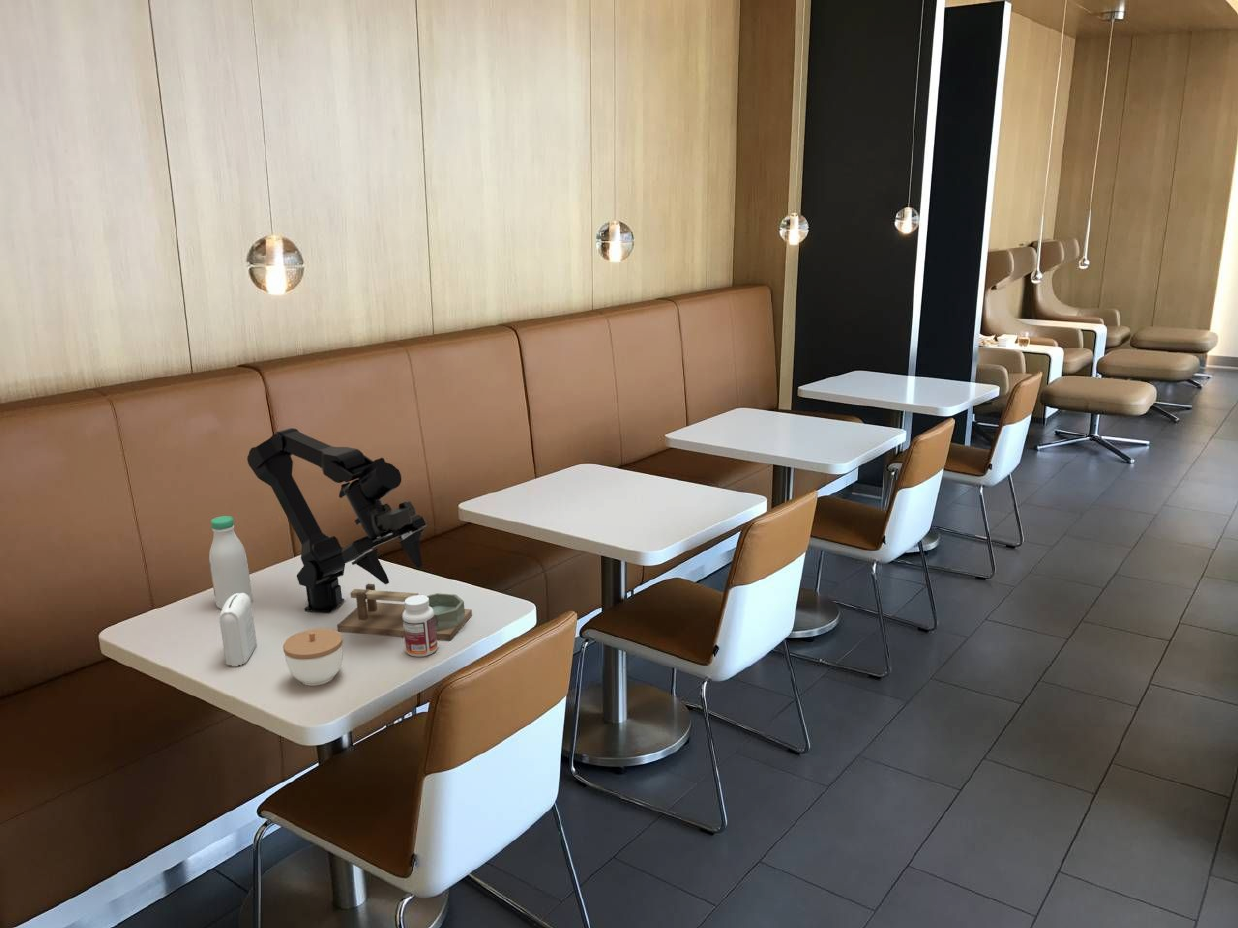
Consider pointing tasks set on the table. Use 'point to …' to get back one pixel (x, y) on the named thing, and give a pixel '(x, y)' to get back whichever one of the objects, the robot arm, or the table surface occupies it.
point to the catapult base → (385, 619)
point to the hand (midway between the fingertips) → (404, 575)
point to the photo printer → (237, 629)
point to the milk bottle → (228, 562)
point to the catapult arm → (443, 605)
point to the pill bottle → (419, 626)
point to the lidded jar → (314, 655)
